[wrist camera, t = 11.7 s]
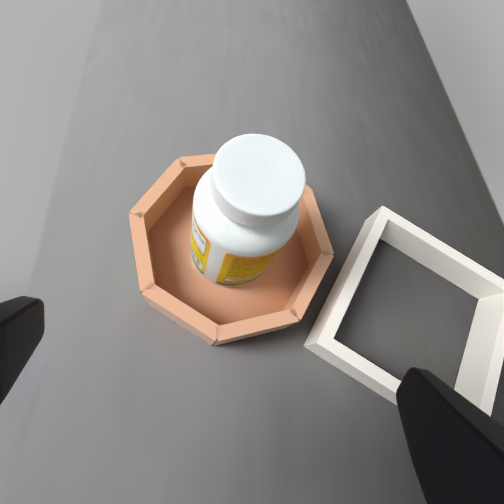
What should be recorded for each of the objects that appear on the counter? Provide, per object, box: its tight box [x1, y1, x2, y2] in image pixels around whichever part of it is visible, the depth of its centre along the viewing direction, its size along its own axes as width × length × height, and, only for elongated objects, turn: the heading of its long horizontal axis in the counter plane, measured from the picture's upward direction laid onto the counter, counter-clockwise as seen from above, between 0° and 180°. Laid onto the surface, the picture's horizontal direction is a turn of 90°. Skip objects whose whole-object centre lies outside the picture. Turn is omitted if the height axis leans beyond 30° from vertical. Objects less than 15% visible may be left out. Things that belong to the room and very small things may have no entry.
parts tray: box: [304, 206, 504, 417], centre depth 23 cm, size 12×12×2 cm
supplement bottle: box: [190, 134, 306, 287], centre depth 18 cm, size 5×5×10 cm
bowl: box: [129, 154, 334, 346], centre depth 22 cm, size 12×12×4 cm
